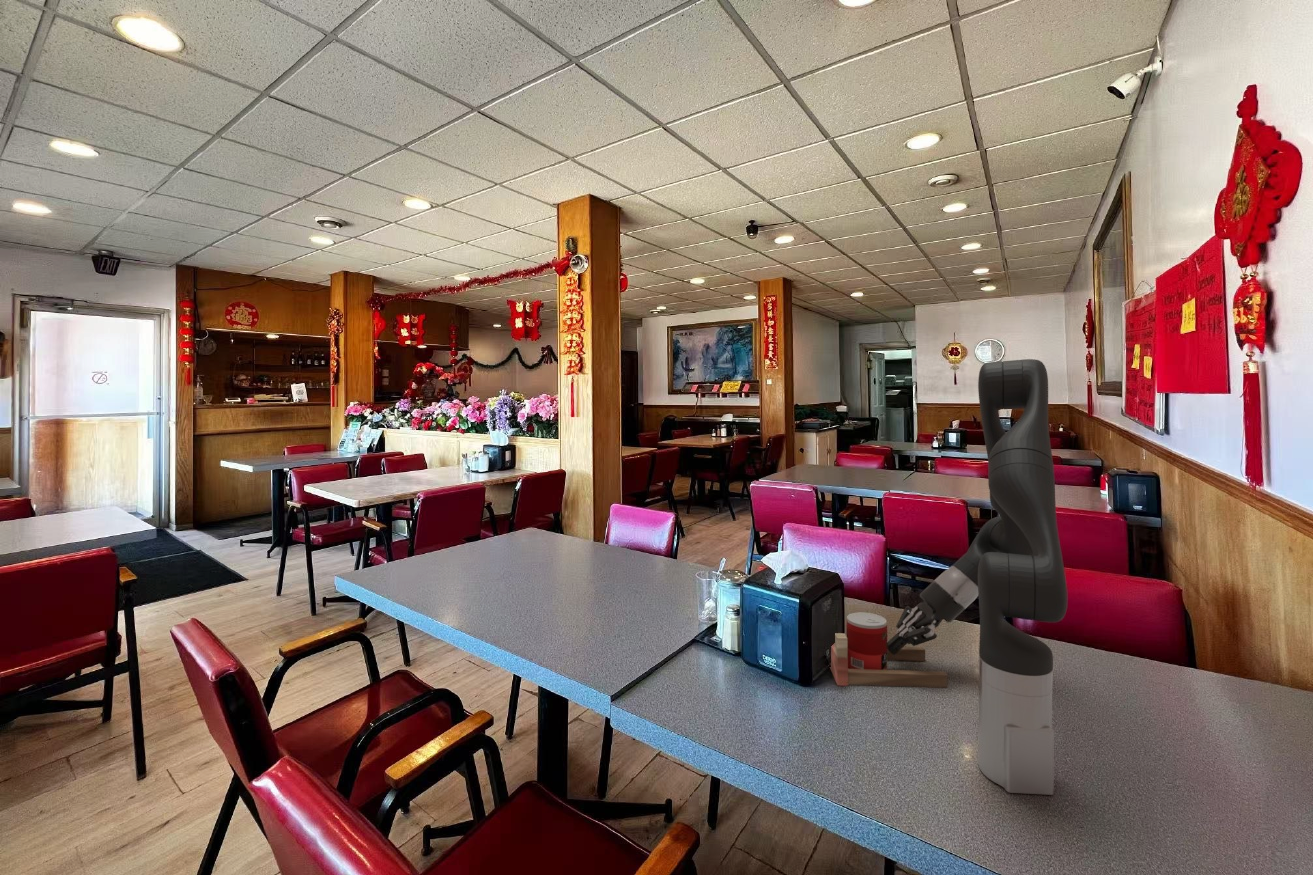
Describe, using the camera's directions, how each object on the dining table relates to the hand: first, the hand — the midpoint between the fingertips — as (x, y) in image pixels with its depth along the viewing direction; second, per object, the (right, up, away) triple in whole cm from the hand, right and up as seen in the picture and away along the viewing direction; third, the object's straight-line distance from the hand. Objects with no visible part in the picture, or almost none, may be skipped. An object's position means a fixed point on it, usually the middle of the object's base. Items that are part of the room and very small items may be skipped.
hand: (889, 650), depth 117 cm
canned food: (-4, -5, +1) cm, 6 cm away
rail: (-1, -4, 0) cm, 4 cm away
